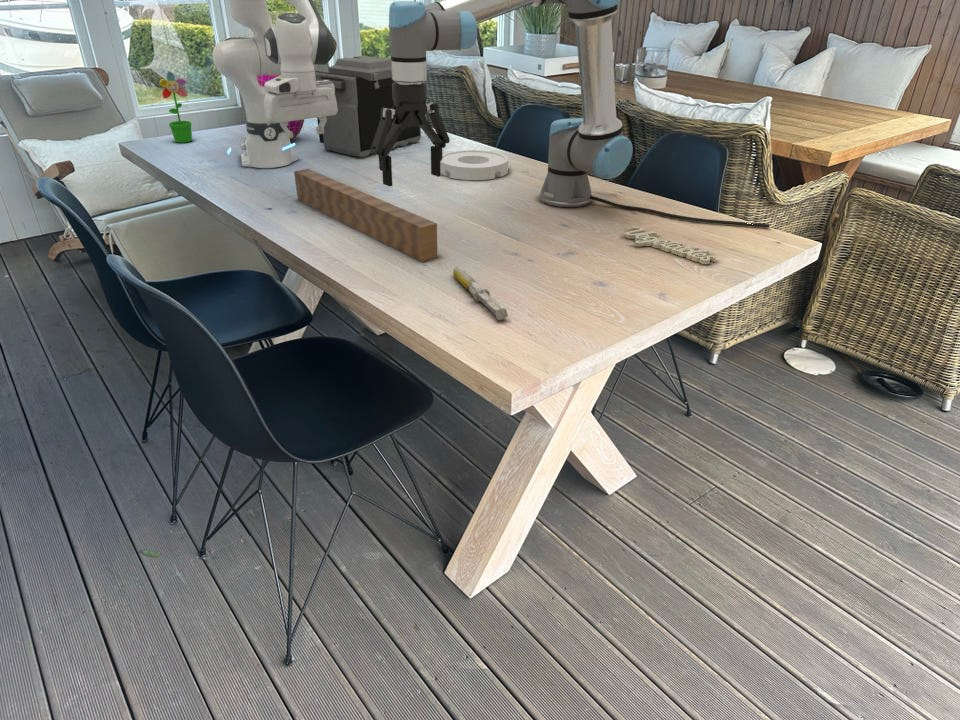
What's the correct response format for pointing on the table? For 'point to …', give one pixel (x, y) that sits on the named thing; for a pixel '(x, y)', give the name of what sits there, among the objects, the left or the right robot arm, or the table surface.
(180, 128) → the potted flower
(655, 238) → the decorative sign
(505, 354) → the table surface
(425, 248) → the post
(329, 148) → the cooler box
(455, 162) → the ashtray
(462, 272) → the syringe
